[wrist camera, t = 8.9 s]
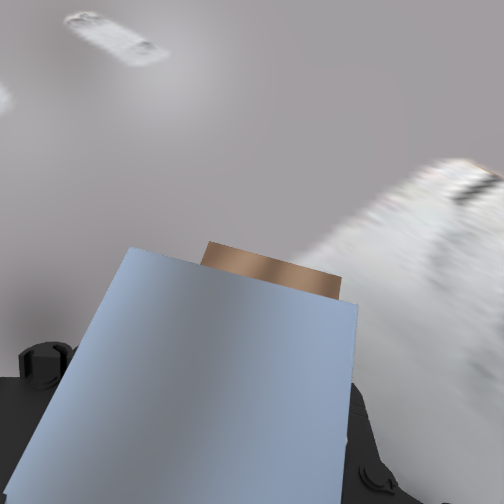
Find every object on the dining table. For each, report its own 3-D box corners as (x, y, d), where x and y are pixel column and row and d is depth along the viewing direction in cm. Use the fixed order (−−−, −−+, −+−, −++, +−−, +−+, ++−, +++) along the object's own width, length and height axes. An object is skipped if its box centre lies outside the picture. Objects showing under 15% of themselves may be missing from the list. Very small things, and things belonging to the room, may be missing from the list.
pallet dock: (330, 289, 32) (341, 277, 29) (309, 417, 26) (320, 421, 23) (212, 257, 33) (209, 241, 30) (168, 373, 28) (157, 370, 24)
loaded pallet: (317, 338, 17) (419, 266, 8) (288, 529, 13) (427, 901, 4) (177, 301, 18) (104, 189, 8) (110, 472, 14) (-185, 650, 4)
